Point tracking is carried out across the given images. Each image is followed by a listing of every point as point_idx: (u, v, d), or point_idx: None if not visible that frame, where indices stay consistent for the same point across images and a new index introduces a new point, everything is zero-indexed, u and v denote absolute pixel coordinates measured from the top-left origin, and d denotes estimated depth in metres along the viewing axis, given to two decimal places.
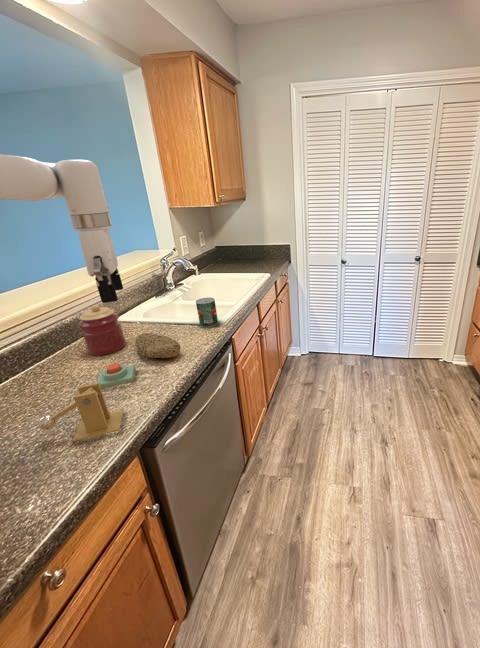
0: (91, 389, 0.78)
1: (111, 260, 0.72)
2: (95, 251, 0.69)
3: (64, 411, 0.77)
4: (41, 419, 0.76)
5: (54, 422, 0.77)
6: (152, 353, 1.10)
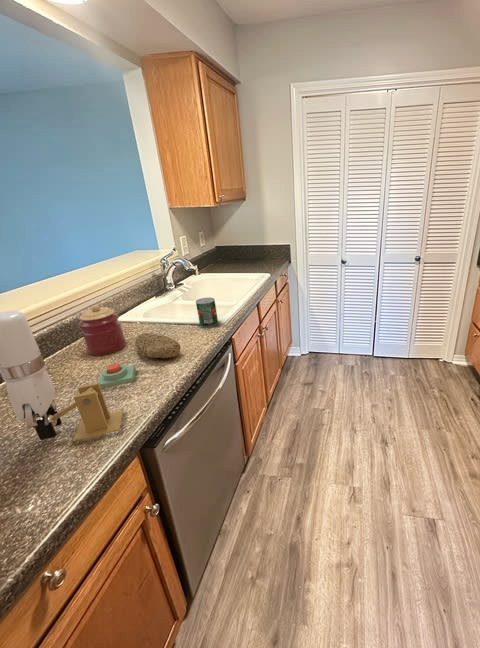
0: (91, 389, 0.78)
1: (43, 402, 0.72)
2: (24, 400, 0.69)
3: (64, 411, 0.77)
4: (41, 419, 0.76)
5: (54, 422, 0.77)
6: (152, 353, 1.10)
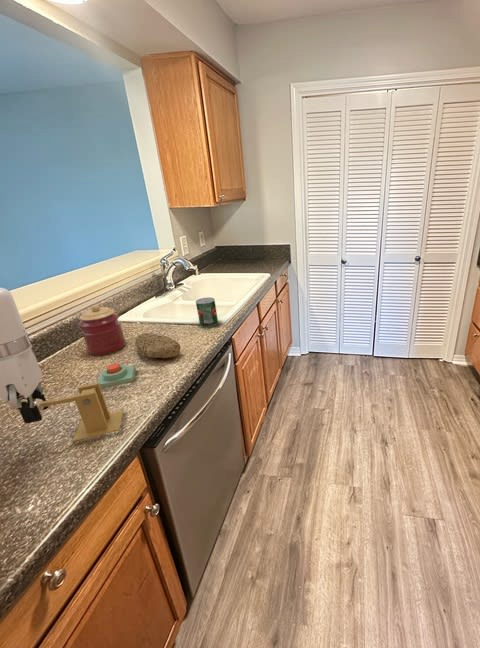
0: (94, 390, 0.79)
1: (28, 384, 0.70)
2: (8, 380, 0.67)
3: (57, 402, 0.76)
4: None
5: (41, 408, 0.75)
6: (152, 353, 1.10)
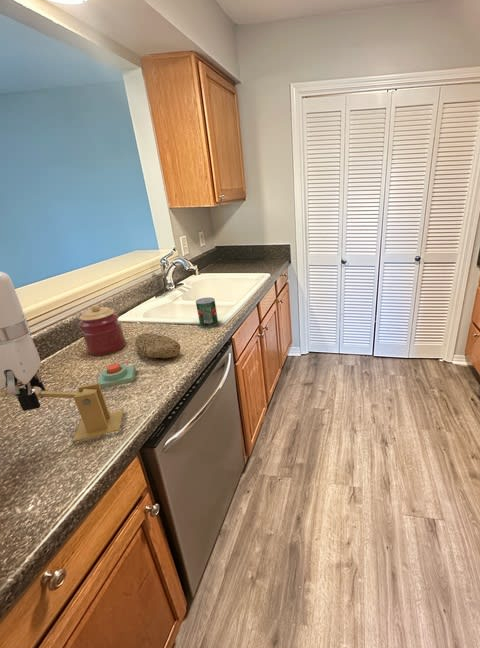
0: (96, 392, 0.79)
1: (26, 370, 0.69)
2: (6, 365, 0.66)
3: (57, 395, 0.75)
4: (32, 389, 0.73)
5: (39, 398, 0.74)
6: (152, 353, 1.10)
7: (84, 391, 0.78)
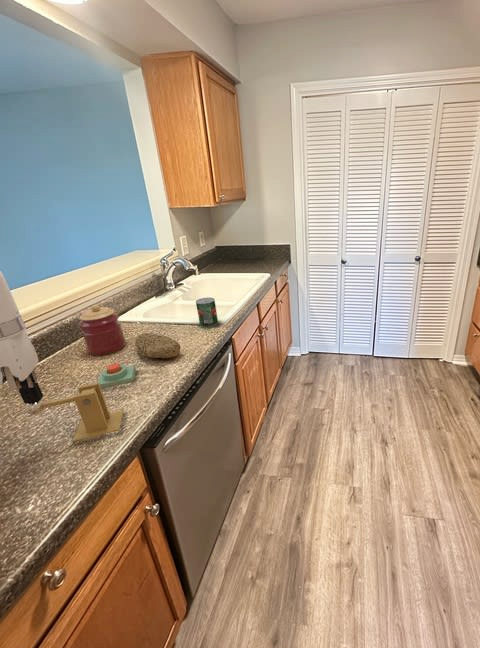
0: (94, 390, 0.79)
1: (23, 366, 0.68)
2: (2, 362, 0.65)
3: (58, 402, 0.76)
4: (32, 402, 0.74)
5: (42, 410, 0.75)
6: (152, 353, 1.10)
7: (82, 392, 0.78)
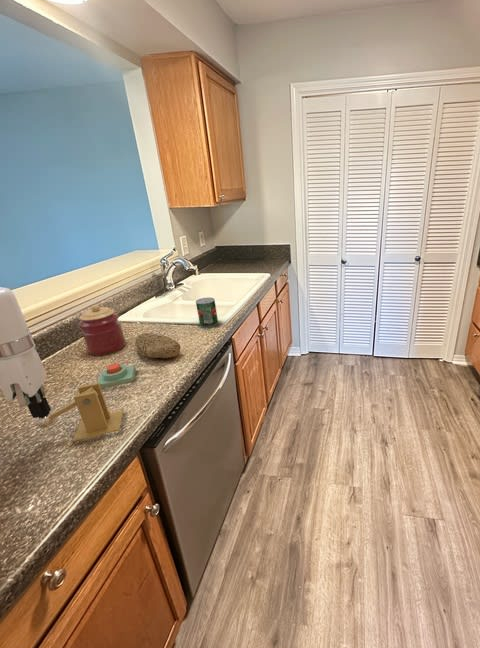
0: (91, 389, 0.78)
1: (32, 383, 0.70)
2: (12, 379, 0.67)
3: (63, 410, 0.77)
4: (39, 417, 0.76)
5: (52, 421, 0.77)
6: (152, 353, 1.10)
7: None
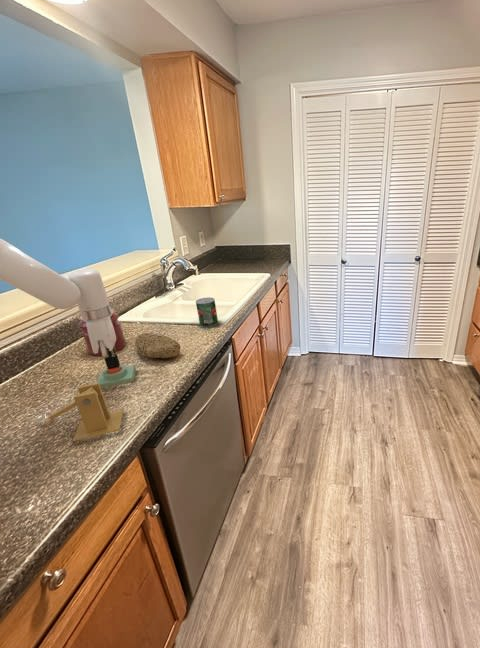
0: (91, 389, 0.78)
1: (111, 340, 0.95)
2: (99, 337, 0.92)
3: (63, 410, 0.77)
4: (39, 417, 0.76)
5: (52, 421, 0.77)
6: (152, 353, 1.10)
7: None
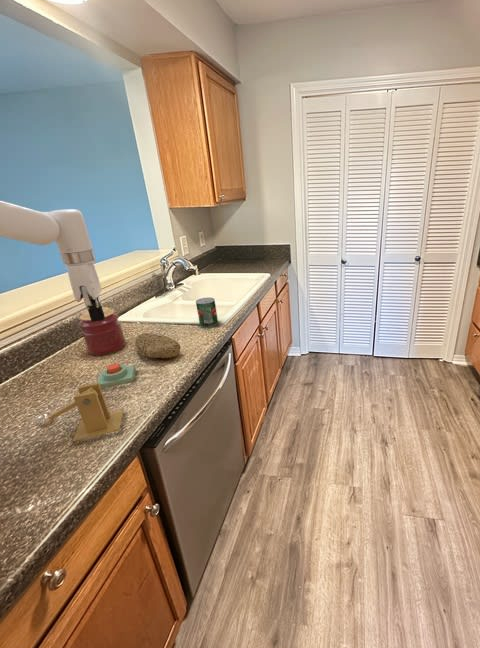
0: (91, 389, 0.78)
1: (94, 288, 0.88)
2: (81, 282, 0.85)
3: (63, 410, 0.77)
4: (39, 417, 0.76)
5: (52, 421, 0.77)
6: (152, 353, 1.10)
7: None
